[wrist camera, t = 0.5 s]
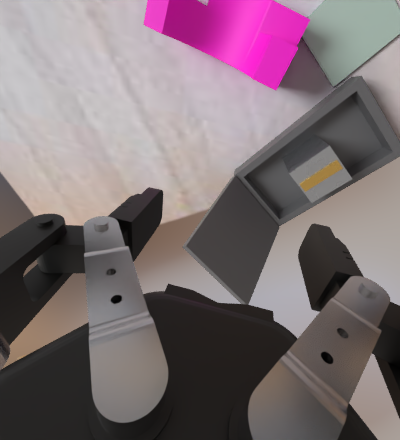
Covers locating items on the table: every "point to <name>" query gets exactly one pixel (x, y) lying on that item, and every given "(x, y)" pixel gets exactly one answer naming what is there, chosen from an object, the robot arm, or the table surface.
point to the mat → (350, 33)
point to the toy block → (234, 32)
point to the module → (316, 168)
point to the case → (287, 185)
